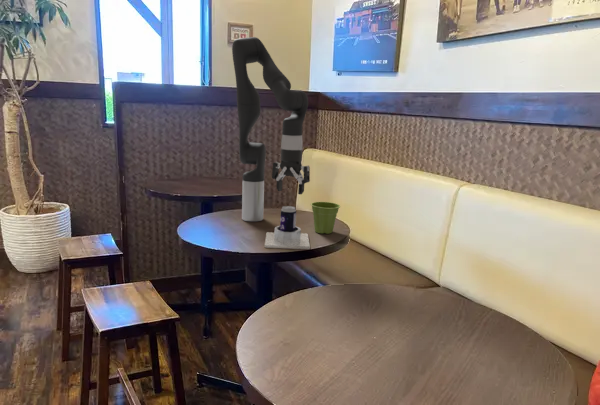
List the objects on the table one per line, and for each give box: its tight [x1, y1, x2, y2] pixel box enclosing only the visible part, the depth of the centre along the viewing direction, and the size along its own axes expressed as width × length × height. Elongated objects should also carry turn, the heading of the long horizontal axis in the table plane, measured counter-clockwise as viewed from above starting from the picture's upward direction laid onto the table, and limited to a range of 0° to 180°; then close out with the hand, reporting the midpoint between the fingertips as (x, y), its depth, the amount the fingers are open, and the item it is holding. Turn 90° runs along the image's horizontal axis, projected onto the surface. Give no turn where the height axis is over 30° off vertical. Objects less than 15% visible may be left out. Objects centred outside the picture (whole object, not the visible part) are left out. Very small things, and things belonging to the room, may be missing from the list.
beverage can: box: [279, 205, 297, 232], centre depth 167 cm, size 6×6×12 cm
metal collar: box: [264, 225, 311, 250], centre depth 168 cm, size 16×16×5 cm
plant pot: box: [310, 201, 341, 235], centre depth 183 cm, size 12×12×11 cm
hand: (290, 192), depth 165 cm, fingers open, 8 cm apart
